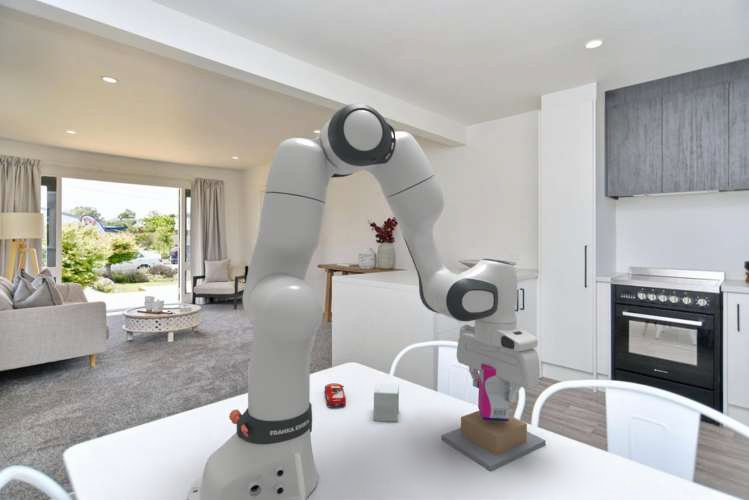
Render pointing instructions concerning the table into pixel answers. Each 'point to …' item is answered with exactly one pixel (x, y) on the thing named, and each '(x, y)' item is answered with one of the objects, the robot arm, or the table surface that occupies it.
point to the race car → (335, 395)
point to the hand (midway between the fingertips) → (493, 393)
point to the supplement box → (492, 395)
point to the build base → (486, 454)
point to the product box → (386, 402)
